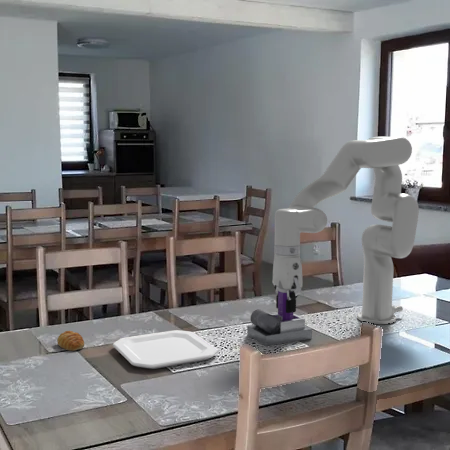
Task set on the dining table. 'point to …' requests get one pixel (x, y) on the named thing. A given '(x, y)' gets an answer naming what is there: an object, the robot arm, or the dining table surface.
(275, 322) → the block
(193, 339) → the plate
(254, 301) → the dining table surface
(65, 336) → the pastry
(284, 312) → the container
